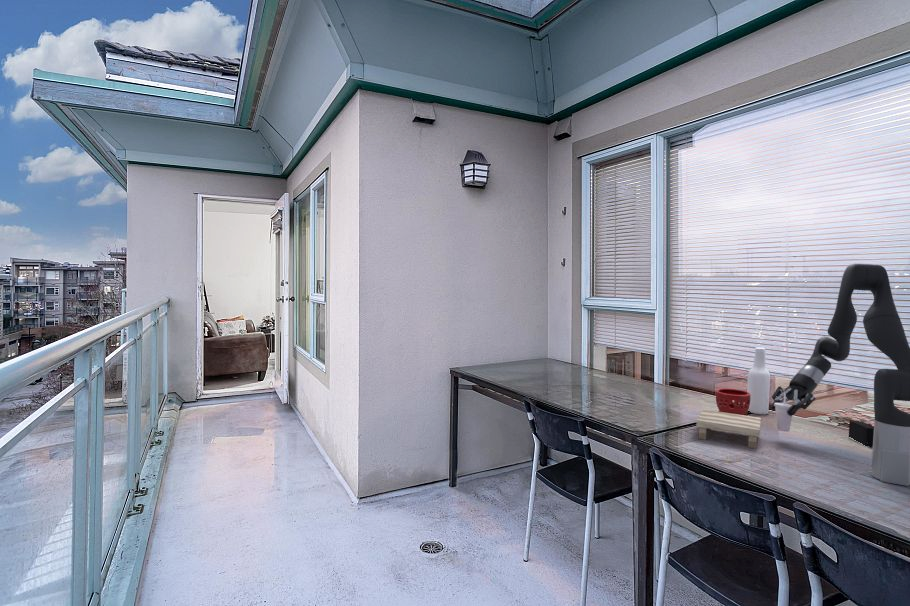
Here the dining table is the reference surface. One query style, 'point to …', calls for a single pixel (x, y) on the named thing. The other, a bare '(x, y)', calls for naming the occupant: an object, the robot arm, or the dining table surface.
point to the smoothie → (783, 415)
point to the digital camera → (861, 432)
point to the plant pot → (726, 403)
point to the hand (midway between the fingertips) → (780, 411)
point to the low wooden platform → (729, 424)
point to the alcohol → (759, 384)
